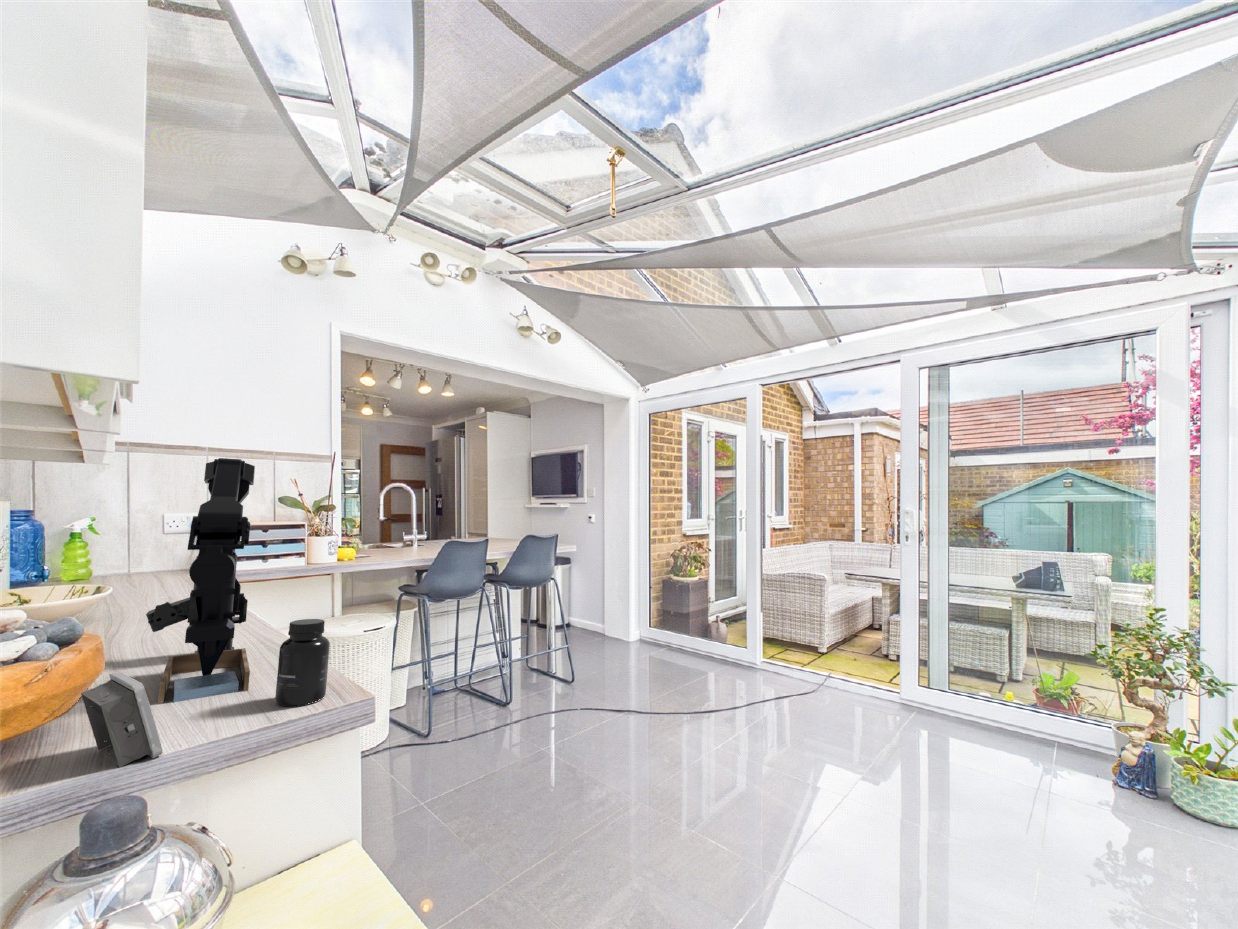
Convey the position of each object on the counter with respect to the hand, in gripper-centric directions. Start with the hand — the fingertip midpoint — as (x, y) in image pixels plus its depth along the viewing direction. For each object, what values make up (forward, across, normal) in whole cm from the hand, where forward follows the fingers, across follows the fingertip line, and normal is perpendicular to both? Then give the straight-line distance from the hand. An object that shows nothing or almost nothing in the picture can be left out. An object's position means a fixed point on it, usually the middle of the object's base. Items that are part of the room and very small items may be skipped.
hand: (206, 675), depth 90 cm
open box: (+1, 0, 0) cm, 1 cm away
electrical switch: (+2, +29, -8) cm, 30 cm away
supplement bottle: (+2, +19, +12) cm, 22 cm away
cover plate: (+2, +5, 0) cm, 5 cm away
